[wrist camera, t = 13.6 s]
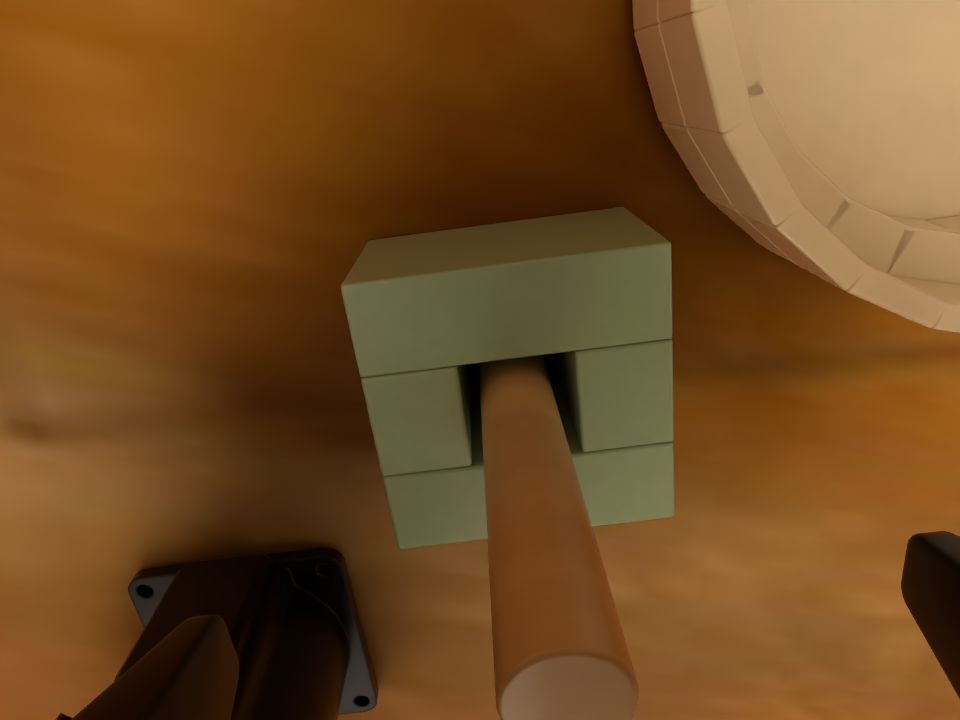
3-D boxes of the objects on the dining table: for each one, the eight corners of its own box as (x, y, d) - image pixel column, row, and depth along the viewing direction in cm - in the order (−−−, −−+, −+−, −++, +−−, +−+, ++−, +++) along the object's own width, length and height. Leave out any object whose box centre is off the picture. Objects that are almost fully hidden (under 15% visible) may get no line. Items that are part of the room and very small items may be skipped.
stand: (633, 432, 18) (675, 518, 15) (410, 459, 19) (397, 551, 15) (624, 205, 16) (672, 241, 12) (367, 239, 16) (339, 285, 12)
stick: (540, 367, 18) (643, 746, 8) (481, 374, 18) (504, 761, 8) (534, 311, 17) (638, 643, 7) (473, 319, 17) (487, 660, 7)
